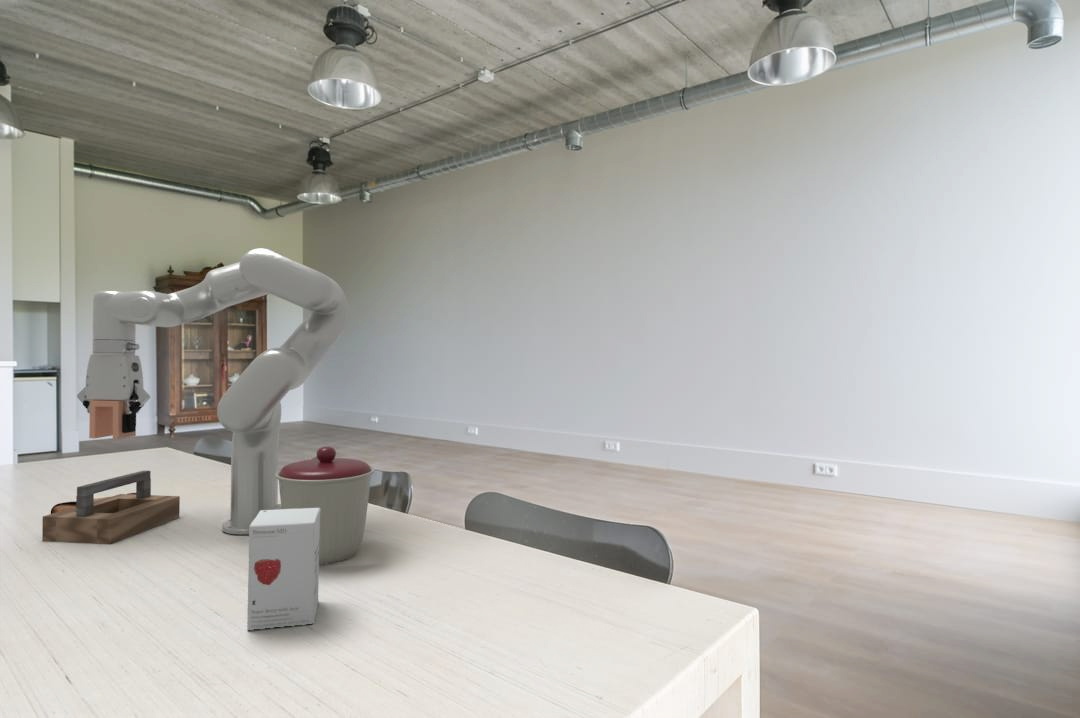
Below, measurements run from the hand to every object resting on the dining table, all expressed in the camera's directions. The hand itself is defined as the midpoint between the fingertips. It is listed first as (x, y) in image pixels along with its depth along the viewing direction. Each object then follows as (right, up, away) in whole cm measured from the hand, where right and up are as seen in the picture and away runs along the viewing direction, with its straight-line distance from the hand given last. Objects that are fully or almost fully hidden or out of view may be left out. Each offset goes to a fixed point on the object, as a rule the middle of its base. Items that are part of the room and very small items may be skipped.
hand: (113, 431), depth 129 cm
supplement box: (+54, -23, -40) cm, 71 cm away
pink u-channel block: (0, -1, 0) cm, 1 cm away
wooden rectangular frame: (-1, -22, +2) cm, 22 cm away
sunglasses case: (-12, -22, +13) cm, 29 cm away
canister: (+51, -23, -14) cm, 57 cm away
